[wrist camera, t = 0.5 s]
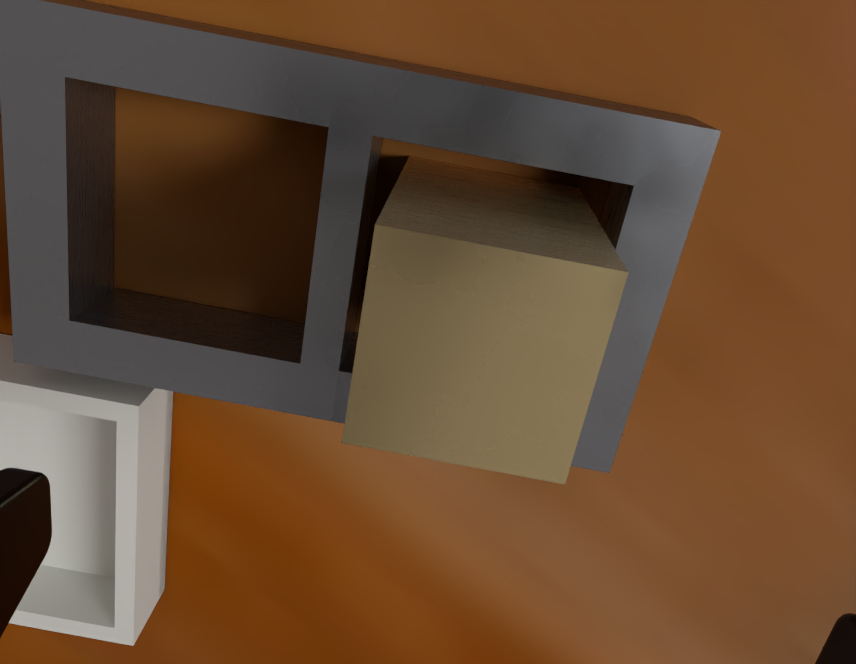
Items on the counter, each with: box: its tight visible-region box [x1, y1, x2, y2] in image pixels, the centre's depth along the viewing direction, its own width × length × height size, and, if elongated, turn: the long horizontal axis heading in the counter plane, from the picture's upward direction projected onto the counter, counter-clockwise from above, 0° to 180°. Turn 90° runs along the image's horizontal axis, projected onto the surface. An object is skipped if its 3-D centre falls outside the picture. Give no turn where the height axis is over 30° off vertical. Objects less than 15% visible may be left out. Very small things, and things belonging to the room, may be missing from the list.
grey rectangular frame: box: [0, 0, 721, 473], centre depth 19 cm, size 9×16×2 cm, turn 80°
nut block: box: [342, 156, 629, 484], centre depth 17 cm, size 4×4×7 cm
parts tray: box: [0, 334, 173, 646], centre depth 23 cm, size 9×9×2 cm
